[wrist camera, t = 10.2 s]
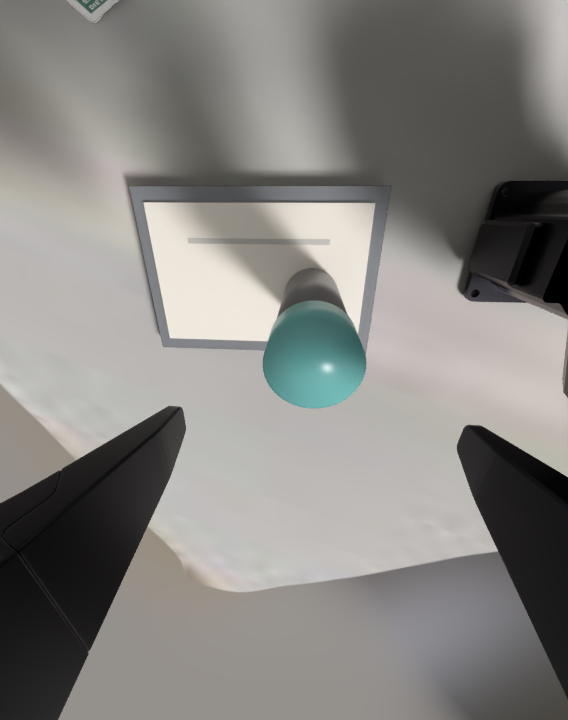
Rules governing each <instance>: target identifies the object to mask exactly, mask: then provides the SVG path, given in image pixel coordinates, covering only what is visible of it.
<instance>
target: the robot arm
mask: <svg viewBox="0 0 568 720" xmlns="http://www.w3.org/2000/svg"><path fill="white" fill-rule="evenodd" d="M506 187H507V189H508V192H507V194H506V195H505V196H504V197H503V196H502V191H503V189H504V188H506ZM469 270H470V273H469V276H468V280H467V283H466V286H465V290H464V297H465V298H466V299H468V300H469V301H477V302H521V303H530V304H532V305H535V306H537V307H539V308H542V309H544V310H547V311H549V312H551V313H554V314H556V315H558V316H561V317H563V318H565V319H568V181H507V182H502V183H500V184H499V185H498V186H497V187H496V188H495V190H494V192H493V195H492V198H491V201H490V205H489V208H488V212H487V215H486V218H485V221H484V222H483V223H482V224H481V226H480V229H479V233H478V236H477V240H476V243H475V246H474V250H473V253H472V257H471V260H470V264H469ZM473 290H476V293H475V294H474V295H473V296H471V293H472V291H473ZM562 380H563V392H564V393H565V395H566V396H567V397H568V333H567V342H566V351H565V361H564V370H563V379H562ZM185 431H186V425H185V419H184V413H183V409H182V408H181V407H178V406H168V407H166V408H165V409H163V410H161V411H159V412H158V413H156V414H154V415H153V416H151V417H149V418H148V419H146V420H144V421H142V422H141V423H139V424H137V425H136V426H134V427H132V428H131V429H129V430H127V431H125V432H124V433H122V434H120V435H119V436H117V437H115V438H114V439H112V440H110V441H108V442H107V443H105V444H103V445H102V446H100V447H98V448H96V449H95V450H93V451H91V452H90V453H88V454H86V455H85V456H83V457H81V458H79V459H78V460H76V461H74V462H73V463H71V464H69V465H68V466H66V467H64V468H63V469H62V470H61V471H57V472H56V473H54V474H52V475H50V476H49V477H48V478H46V479H44V480H42V481H40V482H38V483H37V484H35V485H33V486H31V487H30V488H28V489H26V490H24V491H23V492H21V493H19V494H17V495H15V496H13V497H11V498H10V499H8V500H6V501H4V502H2V503H0V720H58V718H59V717H60V714H61V712H62V710H63V707H64V706H65V704H66V701H67V699H68V697H69V695H70V693H71V691H72V688H73V686H74V684H75V682H76V680H77V678H78V675H79V673H80V671H81V669H82V667H83V665H84V663H85V660H86V658H87V656H88V651H89V650H90V649H91V647H92V645H93V643H94V641H95V638H96V636H97V634H98V632H99V630H100V628H101V625H102V623H103V621H104V619H105V617H106V615H107V612H108V610H109V608H110V606H111V604H112V602H113V600H114V597H115V595H116V593H117V591H118V589H119V587H120V584H121V582H122V580H123V577H124V576H125V573H126V571H127V569H128V567H129V565H130V563H131V560H132V558H133V556H134V554H135V552H136V550H137V548H138V546H139V543H140V541H141V539H142V537H143V535H144V533H145V531H146V528H147V526H148V524H149V522H150V520H151V518H152V515H153V513H154V511H155V509H156V507H157V505H158V502H159V500H160V498H161V496H162V494H163V492H164V490H165V487H166V485H167V483H168V481H169V478H170V476H171V474H172V471H173V468H174V465H175V462H176V459H177V456H178V453H179V450H180V447H181V444H182V441H183V438H184V435H185ZM457 452H458V455H459V458H460V461H461V464H462V467H463V469H464V472H465V475H466V478H467V481H468V484H469V487H470V490H471V492H472V495H473V497H474V500H475V502H476V504H477V507H478V509H479V511H480V513H481V515H482V517H483V520H484V522H485V524H486V526H487V528H488V530H489V532H490V534H491V537H492V539H493V541H494V543H495V545H496V547H497V549H498V552H499V554H500V555H501V558H502V560H503V562H504V564H505V566H506V568H507V571H508V573H509V575H510V577H511V579H512V581H513V583H514V586H515V588H516V589H517V592H518V594H519V596H520V598H521V601H522V603H523V605H524V607H525V609H526V611H527V613H528V616H529V618H530V620H531V622H532V624H533V626H534V628H535V630H536V633H537V635H538V637H539V639H540V641H541V643H542V645H543V648H544V650H545V652H546V654H547V656H548V658H549V660H550V663H551V665H552V667H553V669H554V671H555V673H556V675H557V677H558V680H559V682H560V684H561V686H562V688H563V690H564V692H565V695H566V697H567V699H568V477H566V476H565V475H563V474H561V473H560V472H558V471H556V470H555V469H553V468H551V467H550V466H548V465H546V464H545V463H543V462H541V461H540V460H538V459H536V458H535V457H533V456H531V455H530V454H528V453H526V452H525V451H523V450H521V449H519V448H518V447H516V446H514V445H513V444H511V443H509V442H508V441H506V440H504V439H503V438H501V437H499V436H498V435H496V434H494V433H493V432H491V431H489V430H488V429H486V428H484V427H482V426H479V425H466V426H465V427H464V429H463V431H462V434H461V436H460V439H459V441H458V444H457Z"/></svg>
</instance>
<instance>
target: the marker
mask: <svg viewBox="0 0 568 720" xmlns="http://www.w3.org/2000/svg"><path fill="white" fill-rule="evenodd" d="M365 370H366V356H365V351H364V349H363V346H362V344H361V341H360V339H359V336H358V333H357V331H356V328H355V326H354V324H353V322H352V320H351V319H350V317H349V316H348V314H347V312H346V309H345V306H344V304H343V301H342V298H341V296H340V293H339V290H338V288H337V285H336V283H335V281H334V279H333V278H332V277H331V276H330V275H329V274H328V273H326V272H325V271H323V270H320V269H315V268H308V269H304V270H301V271H299V272H297V273H296V274H294V275H293V276H292V277H291V278H290V280H289V281H288V283H287V285H286V287H285V291H284V294H283V298H282V301H281V305H280V309H279V312H278V316H277V319H276V321H275V322H274V324H273V326H272V329H271V332H270V335H269V339H268V342H267V345H266V349H265V352H264V357H263V371H264V375H265V378H266V380H267V382H268V384H269V386H270V387H271V389H272V390H273V391H274V392H275V393H276V394H277V395H278V396H279V397H281V398H282V399H283V400H285V401H287V402H289V403H291V404H293V405H296V406H299V407H304V408H324V407H329V406H332V405H335V404H337V403H340V402H342V401H343V400H345V399H346V398H348V397H349V396H350V395H352V394H353V393H354V392H355V390H356V389H357V388H358V387H359V385H360V383H361V382H362V380H363V377H364V375H365Z"/></svg>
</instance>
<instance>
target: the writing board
mask: <svg viewBox="0 0 568 720" xmlns="http://www.w3.org/2000/svg"><path fill="white" fill-rule="evenodd" d="M129 188H130V193H131V198H132V202H133V207H134V212H135V217H136V221H137V226H138V231H139V236H140V240H141V245H142V250H143V255H144V259H145V264H146V269H147V274H148V278H149V283H150V288H151V292H152V297H153V302H154V307H155V311H156V316H157V321H158V326H159V330H160V335H161V340H162V345H163V347H179V348H208V349H238V350H265V349H266V345H267V342H268V339H269V335H270V332H271V329H272V326H273V324H274V322H275V321H276V319H277V316H278V312H279V309H280V305H281V301H282V298H283V294H284V291H285V287H286V285H287V283H288V281H289V280H290V278H291V277H292V276H293V275H294V274H296V273H297V272H299V271H301V270H304V269H308V268H315V269H320V270H323V271H325V272H326V273H328V274H329V275H330V276H331V277H332V278H333V279H334V281H335V283H336V285H337V288H338V290H339V293H340V296H341V298H342V301H343V304H344V306H345V309H346V312H347V314H348V316H349V317H350V319H351V320H352V322H353V324H354V326H355V328H356V331H357V333H358V336H359V339H360V341H361V344H362V346H363V349H364V351H365V354H366V349H367V343H368V336H369V330H370V323H371V316H372V310H373V303H374V296H375V290H376V283H377V276H378V270H379V263H380V257H381V250H382V243H383V237H384V230H385V223H386V217H387V210H388V203H389V197H390V190H391V186H129Z"/></svg>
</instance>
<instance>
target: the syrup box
mask: <svg viewBox="0 0 568 720" xmlns="http://www.w3.org/2000/svg"><path fill="white" fill-rule="evenodd" d="M66 1H67V2H68V3H69V4H70V5H72V6H73V7H74V8H75V9H76V10H77V11H78V12H79V13H80V14H82V15H83V16H84V17H85V18H86V19H87V20H89V21H90V22H93V23H96V22H97V21H99V20H100V19H101V18H102V16H103V14H104V13H105V12H106V11H108V10H109V9H110V8H111V7H112V6H113V5H114V4H115V3H117V2H119V1H120V0H66Z"/></svg>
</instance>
